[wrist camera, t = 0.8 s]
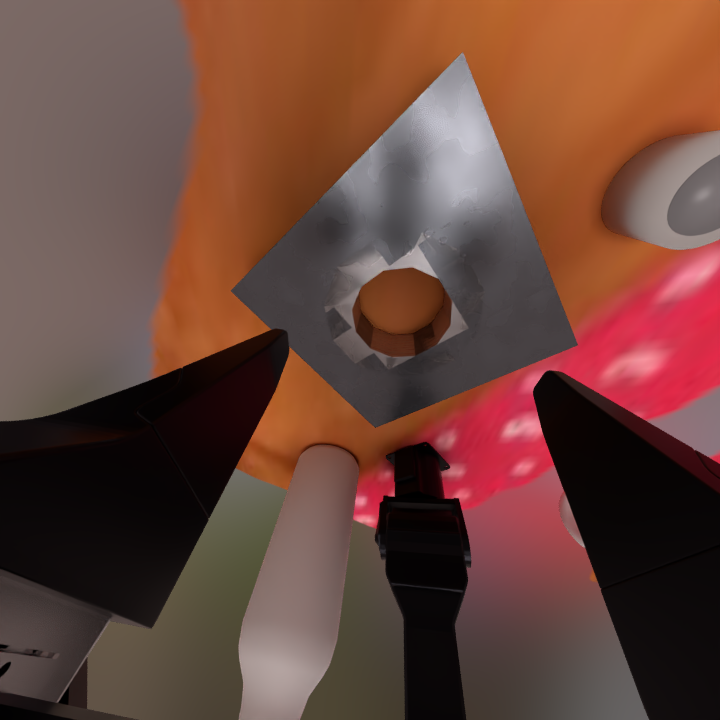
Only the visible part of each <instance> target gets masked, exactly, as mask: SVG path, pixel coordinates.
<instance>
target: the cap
mask: <svg viewBox="0 0 720 720" xmlns="http://www.w3.org/2000/svg"><path fill="white" fill-rule="evenodd" d="M601 215H602V220H603V222H604V224H605V226H606V227H607V228H608V229H609V230H611V231H612V232H614V233H617V234H620V235H623V236H627V237H630V238H634V239H637V240H641V241H644V242H648V243H651V244H655V245H658V246H662V247H665V248H669V249H676V250H683V249H692V248H696V247H700V246H704V245H706V244H709V243H712V242H714V241H717V240H719V239H720V130H717V131H709V132H701V133H693V134H686V135H678V136H672V137H668V138H665V139H662V140H659V141H657V142H655V143H653V144H651V145H649V146H648V147H646V148H644V149H643V150H641V151H640V152H639V153H637V154H636V155H635V156H634V157H632V158H631V159H630V160H629V161H628V162H627V163H626V164H625V165H624V166H623V167H622V168H621V169H620V170H619V171H618V173H617V174H616V175H615V177H614V178H613V180H612V181H611V183H610V184H609V186H608V188H607V190H606V193H605V195H604V198H603V201H602V207H601Z"/></svg>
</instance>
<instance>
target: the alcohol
mask: <svg viewBox="0 0 720 720" xmlns="http://www.w3.org/2000/svg"><path fill="white" fill-rule="evenodd" d="M358 475H359V467H358V464H357V462H356V460H355V458H354V457H353V456H352V455H351V454H350V453H349V452H347V451H346V450H344V449H342V448H340V447H337V446H332V445H315V446H312V447H310V448H308V449H307V450H306V451H304V452H303V453H302V454H301V455H300V457H299V459H298V462H297V465H296V468H295V471H294V474H293V477H292V479H291V482H290V485H289V488H288V491H287V494H286V497H285V500H284V503H283V506H282V509H281V511H280V514H279V517H278V520H277V523H276V526H275V529H274V532H273V535H272V538H271V540H270V543H269V546H268V549H267V552H266V555H265V558H264V561H263V564H262V567H261V570H260V572H259V575H258V578H257V581H256V584H255V587H254V590H253V593H252V596H251V599H250V602H249V604H248V607H247V610H246V613H245V616H244V619H243V623H242V629H241V634H240V641H239V646H238V647H239V660H240V666H241V671H242V677H243V683H244V684H243V695H242V706H241V711H240V715H239V719H238V720H300V718H301V715H302V713H303V710H304V707H305V704H306V702H307V699H308V697H309V695H310V694H311V692H312V691H313V690H314V688H315V687H316V685H317V684H318V683H319V681H320V680H321V678H322V677H323V675H324V674H325V672H326V670H327V668H328V667H329V665H330V662H331V659H332V655H333V652H334V649H335V645H336V642H337V637H338V630H339V621H340V614H341V607H342V599H343V591H344V583H345V576H346V568H347V560H348V553H349V545H350V537H351V529H352V522H353V514H354V506H355V499H356V491H357V483H358Z"/></svg>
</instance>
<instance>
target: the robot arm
mask: <svg viewBox="0 0 720 720" xmlns="http://www.w3.org/2000/svg"><path fill="white" fill-rule="evenodd" d="M288 355H289V340H288V332H287V331H286V330H284V329H277V328H275V329H272V330H270V331H267V332H265V333H263V334H260V335H258V336H255V337H253V338H251V339H248V340H246V341H244V342H241V343H239V344H236V345H234V346H232V347H229V348H227V349H224V350H222V351H220V352H217V353H215V354H212V355H210V356H208V357H205V358H203V359H201V360H198V361H196V362H193V363H191V364H189V365H186V366H184V367H183V369H182V368H179V369H176V370H174V371H172V372H169V373H167V374H164V375H162V376H159V377H157V378H154V379H152V380H149V381H147V382H144V383H141V384H139V385H136V386H133V387H130V388H128V389H125V390H122V391H119V392H116V393H114V394H111V395H108V396H105V397H102V398H100V399H97V400H94V401H91V402H88V403H85V404H83V405H80V406H77V407H74V408H71V409H68V410H66V411H62V412H59V413H57V414H53V415H49V416H44V417H39V418H34V419H27V420H19V421H0V720H137V719H132V718H127V717H123V716H117V715H113V714H108V713H103V712H99V711H94V710H89V709H87V656H88V655H89V653H90V651H91V650H92V648H93V647H94V645H95V644H96V642H97V641H98V639H99V638H100V636H101V634H102V633H103V631H104V630H105V628H106V626H107V625H108V623H109V622H110V621H113V622H118V623H123V624H128V625H133V626H138V627H143V628H148V629H151V628H152V627H153V626H154V624H155V622H156V620H157V619H158V617H159V615H160V613H161V611H162V609H163V607H164V605H165V603H166V601H167V599H168V597H169V595H170V594H171V592H172V590H173V588H174V586H175V584H176V582H177V580H178V578H179V576H180V574H181V572H182V570H183V569H184V567H185V565H186V563H187V561H188V559H189V557H190V555H191V553H192V551H193V549H194V547H195V545H196V543H197V541H198V539H199V537H200V536H201V534H202V532H203V530H204V528H205V526H206V524H207V522H208V518H210V516H211V514H212V512H213V510H214V508H215V506H216V504H217V503H218V501H219V499H220V497H221V495H222V493H223V491H224V489H225V487H226V485H227V483H228V481H229V479H230V477H231V475H232V474H233V472H234V469H235V468H236V466H237V464H238V462H239V460H240V458H241V456H242V454H243V452H244V450H245V448H246V447H247V445H248V443H249V441H250V439H251V437H252V435H253V433H254V431H255V429H256V427H257V425H258V423H259V421H260V420H261V418H262V416H263V414H264V412H265V410H266V408H267V406H268V404H269V402H270V400H271V398H272V396H273V394H274V392H275V390H276V388H277V385H278V383H279V380H280V377H281V374H282V372H283V369H284V366H285V364H286V361H287V358H288ZM533 396H534V400H535V404H536V408H537V412H538V416H539V420H540V424H541V428H542V432H543V435H544V438H545V441H546V443H547V446H548V449H549V452H550V454H551V457H552V460H553V462H554V465H555V468H556V470H557V473H558V476H559V478H560V481H561V484H562V487H563V489H564V492H565V495H566V497H567V500H568V503H569V505H570V508H571V511H572V514H573V516H574V519H575V522H576V524H577V527H578V530H579V532H580V535H581V538H582V541H583V543H584V546H585V549H586V551H587V554H588V557H589V559H590V562H591V565H592V567H593V570H594V573H595V576H596V578H597V581H598V583H599V586H600V588H601V592H602V595H603V598H604V601H605V603H606V606H607V609H608V611H609V614H610V617H611V619H612V622H613V625H614V628H615V630H616V633H617V636H618V638H619V641H620V644H621V646H622V649H623V652H624V654H625V657H626V660H627V663H628V665H629V668H630V671H631V673H632V676H633V679H634V682H635V684H636V687H637V690H638V692H639V695H640V698H641V701H642V703H643V706H644V709H645V711H646V713H647V716H648V718H649V720H720V464H719V463H717V462H716V461H714V460H712V459H710V458H709V457H707V456H705V455H704V454H702V453H700V452H698V451H696V450H694V449H693V448H691V447H690V446H688V445H686V444H685V443H683V442H681V441H679V440H678V439H676V438H674V437H672V436H671V435H669V434H667V433H666V432H664V431H662V430H660V429H659V428H657V427H655V426H654V425H652V424H650V423H649V422H647V421H645V420H643V419H642V418H640V417H638V416H637V415H635V414H633V413H631V412H630V411H628V410H626V409H625V408H623V407H621V406H619V405H618V404H616V403H614V402H612V401H611V400H609V399H607V398H606V397H604V396H602V395H600V394H599V393H597V392H595V391H594V390H592V389H590V388H588V387H587V386H585V385H583V384H582V383H580V382H578V381H576V380H575V379H573V378H571V377H570V376H568V375H566V374H564V373H562V372H559V371H552V370H549V371H546V372H545V373H544V374H543V376H542V377H541V379H540V380H539V381H538V383H537V384H536V386H535V387H534V390H533ZM425 444H426V446H424V445H425ZM389 457H390V458H389ZM386 459H387V460H389V461H390V462H391V463H392V464H393V465H394V482H395V497H389V496H385V495H384V497H383V501H382V502H380V508H379V519H378V524H377V529H376V534H375V542H376V543H377V545H378V546H379V550H380V553H381V559H382V560H386V576H387V579H388V581H389V584H390V587H391V590H392V592H393V595H394V597H395V600H396V602H397V605H398V607H399V609H400V612H401V614H402V617H403V619H404V678H405V680H404V681H405V720H466V714H465V706H464V698H463V690H462V682H461V674H460V665H459V658H458V650H457V641H456V633H455V623H456V620H457V617H458V614H459V611H460V608H461V605H462V602H463V598H464V595H465V591H466V587H467V583H468V577H467V570H466V567H468V568H470V567H471V553H470V545H469V539H468V534H467V530H466V526H465V522H464V518H463V513H462V509H461V505H460V501H459V498H454V499H445V497H444V490H443V483H442V476H441V471H444V470H447V469H450V465H449V464H448V463H447V462H446V461H445V460H444V459H443V458H442V457H441V456H440V455H439V454H438V453H437V451H436V450H435V449H434V448H433V447H432V446H431V445H430V444H429V443H428V442H423V443H420V444H417V445H414V446H410V447H407V448H404V449H401V450H398V451H396V452H393V453H390V454H388V455H386ZM445 466H447V467H445Z"/></svg>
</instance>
